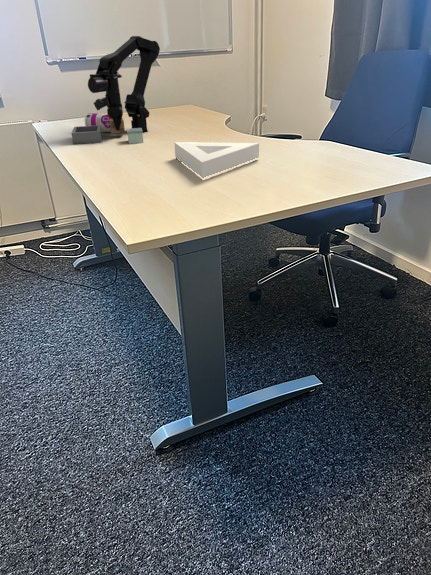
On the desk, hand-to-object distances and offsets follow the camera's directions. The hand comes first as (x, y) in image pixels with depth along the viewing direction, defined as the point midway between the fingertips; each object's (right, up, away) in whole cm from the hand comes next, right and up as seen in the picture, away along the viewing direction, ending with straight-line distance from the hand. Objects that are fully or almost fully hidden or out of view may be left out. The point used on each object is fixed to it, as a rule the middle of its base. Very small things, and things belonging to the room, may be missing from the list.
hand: (117, 129), depth 189 cm
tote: (-12, -6, -3) cm, 14 cm away
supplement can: (-16, +7, +10) cm, 20 cm away
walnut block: (0, -1, +1) cm, 1 cm away
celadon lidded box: (+10, -8, -8) cm, 15 cm away
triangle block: (+46, -28, -42) cm, 69 cm away
